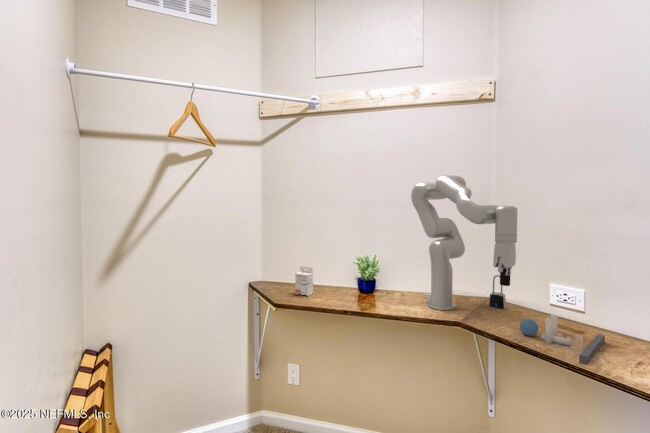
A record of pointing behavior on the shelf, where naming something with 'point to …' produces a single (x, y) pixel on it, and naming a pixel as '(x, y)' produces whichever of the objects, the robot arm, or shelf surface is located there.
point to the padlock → (497, 298)
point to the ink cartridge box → (304, 281)
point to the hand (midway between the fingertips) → (504, 285)
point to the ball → (529, 327)
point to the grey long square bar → (591, 349)
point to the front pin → (558, 340)
